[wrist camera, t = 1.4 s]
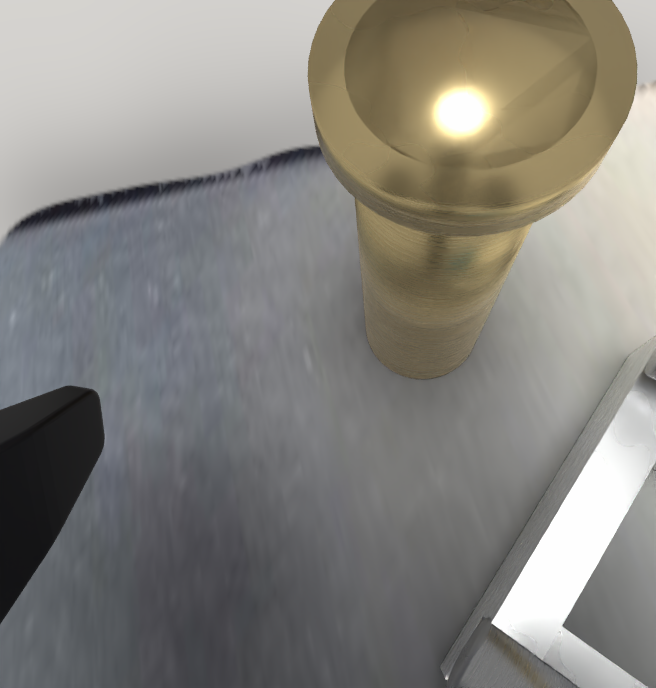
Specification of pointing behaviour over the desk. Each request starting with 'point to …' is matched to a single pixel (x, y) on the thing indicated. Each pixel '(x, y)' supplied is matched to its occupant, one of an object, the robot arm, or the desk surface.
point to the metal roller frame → (564, 552)
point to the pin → (460, 147)
